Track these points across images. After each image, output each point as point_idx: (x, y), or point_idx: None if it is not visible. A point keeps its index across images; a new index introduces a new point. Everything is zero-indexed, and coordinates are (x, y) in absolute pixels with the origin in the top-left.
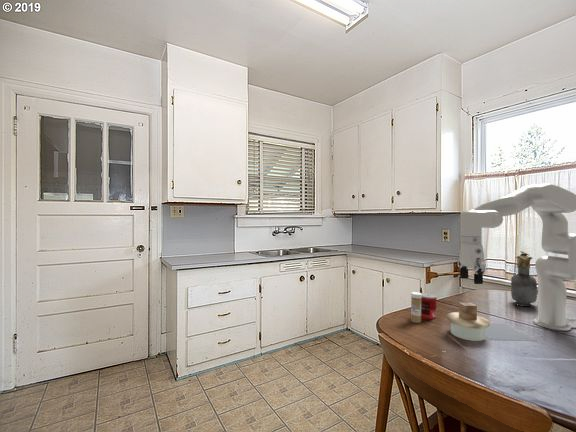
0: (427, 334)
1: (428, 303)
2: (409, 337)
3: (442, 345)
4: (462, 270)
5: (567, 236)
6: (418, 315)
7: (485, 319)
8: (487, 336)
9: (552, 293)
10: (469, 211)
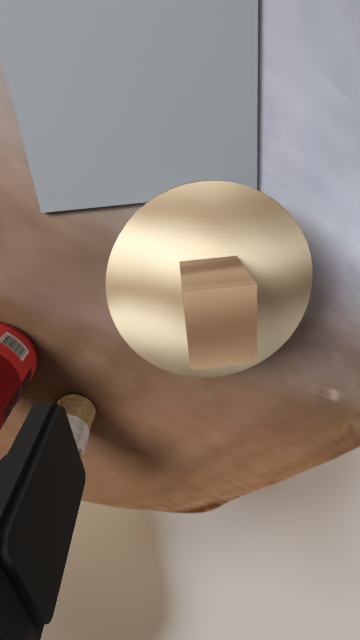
0: (205, 403)
1: (7, 411)
2: (236, 457)
3: (294, 385)
4: (48, 597)
5: None
6: (88, 429)
7: (217, 193)
8: None
9: None
10: None
